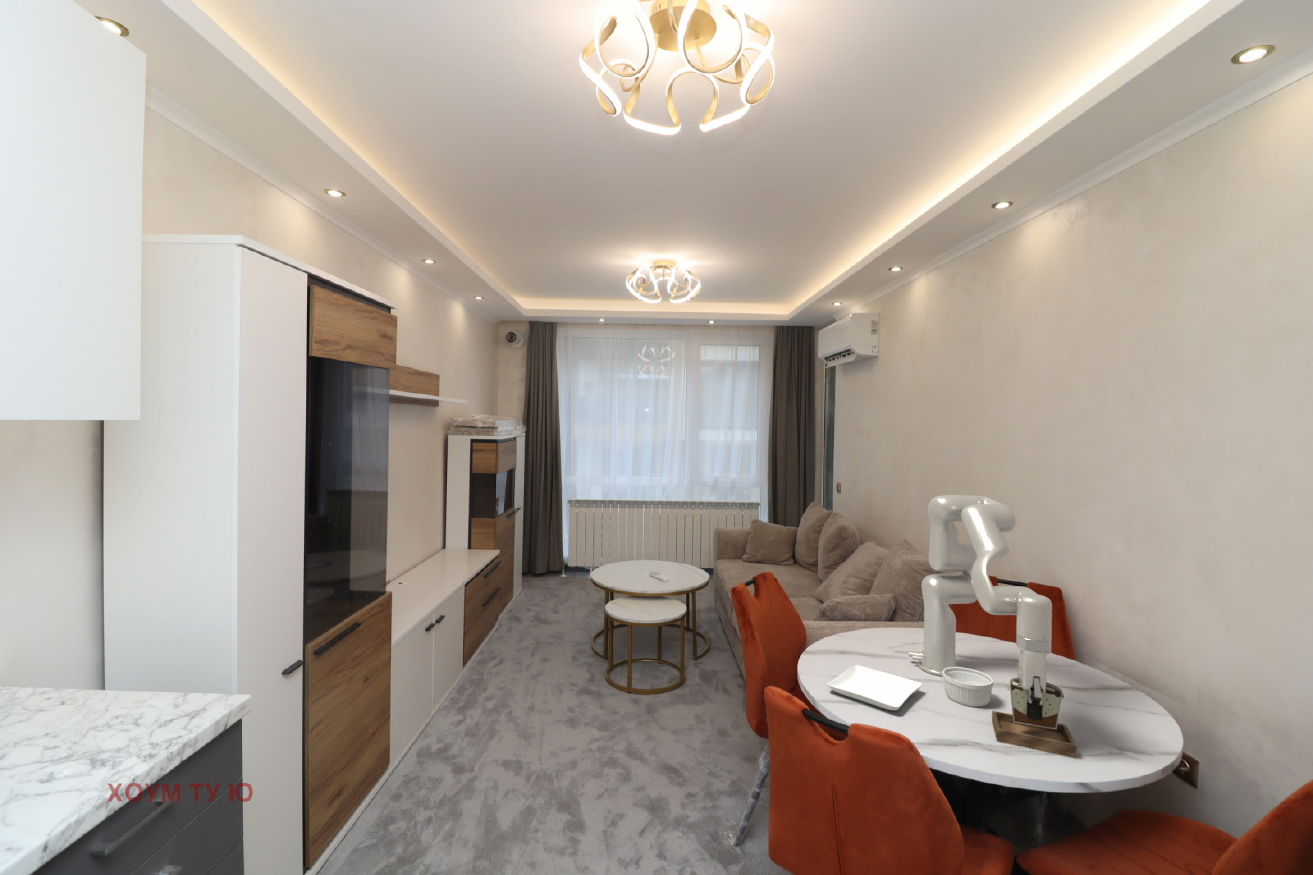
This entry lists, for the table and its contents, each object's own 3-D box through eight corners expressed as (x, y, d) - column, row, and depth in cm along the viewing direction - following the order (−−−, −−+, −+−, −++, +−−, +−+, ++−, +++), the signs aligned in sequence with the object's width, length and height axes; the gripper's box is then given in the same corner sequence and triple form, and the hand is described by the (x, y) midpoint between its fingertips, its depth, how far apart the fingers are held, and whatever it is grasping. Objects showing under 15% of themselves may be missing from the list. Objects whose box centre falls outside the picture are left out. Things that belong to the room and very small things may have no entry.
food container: (1055, 719, 147) (1056, 681, 147) (1063, 730, 141) (1064, 690, 141) (1001, 710, 151) (1002, 673, 151) (1007, 721, 145) (1008, 682, 145)
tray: (996, 741, 144) (997, 729, 144) (991, 721, 154) (992, 710, 154) (1076, 758, 137) (1076, 745, 137) (1065, 736, 147) (1065, 724, 147)
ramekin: (932, 693, 171) (932, 670, 171) (962, 686, 176) (963, 663, 176) (971, 713, 159) (972, 688, 159) (1003, 705, 164) (1003, 681, 164)
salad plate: (825, 694, 169) (825, 683, 169) (855, 673, 185) (855, 662, 185) (897, 719, 155) (898, 707, 155) (923, 694, 171) (923, 683, 171)
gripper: (1011, 630, 155) (1010, 696, 155) (1021, 652, 139) (1020, 725, 139) (1044, 635, 152) (1043, 702, 152) (1058, 657, 136) (1056, 732, 136)
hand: (1032, 712), depth 145 cm, fingers closed on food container, 5 cm apart
